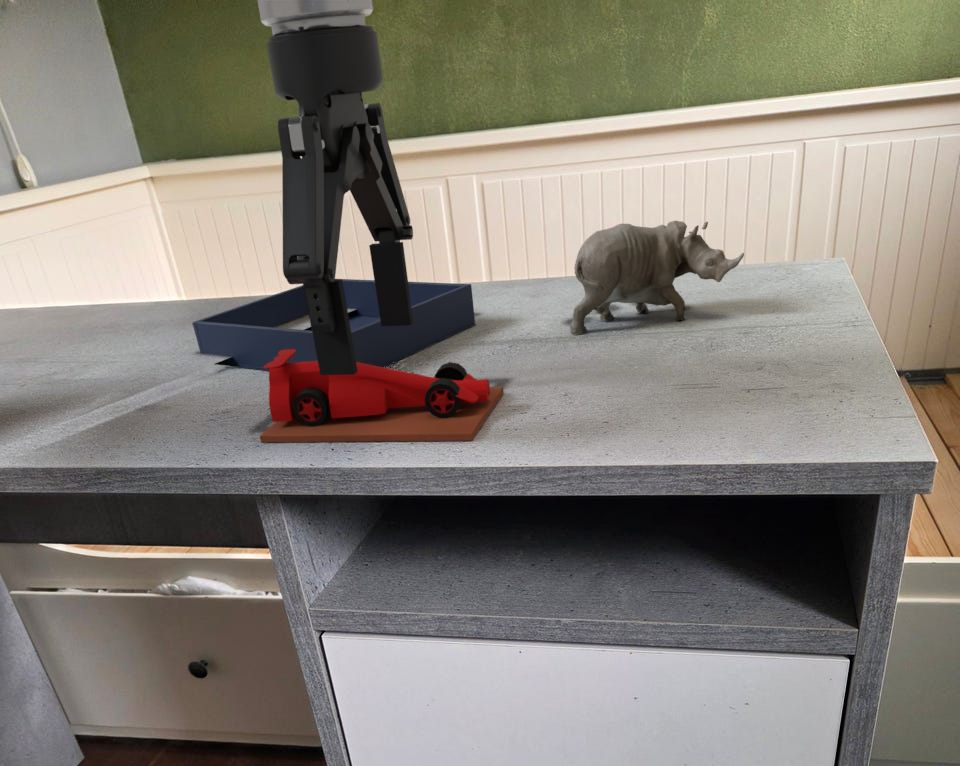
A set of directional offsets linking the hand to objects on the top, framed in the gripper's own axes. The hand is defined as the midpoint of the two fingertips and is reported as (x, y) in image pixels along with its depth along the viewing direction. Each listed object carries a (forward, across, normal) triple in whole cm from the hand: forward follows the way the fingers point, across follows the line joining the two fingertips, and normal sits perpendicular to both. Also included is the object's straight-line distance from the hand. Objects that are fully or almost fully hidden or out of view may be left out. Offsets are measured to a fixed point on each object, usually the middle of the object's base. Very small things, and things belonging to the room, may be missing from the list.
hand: (370, 347), depth 71 cm
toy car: (+5, 0, 0) cm, 5 cm away
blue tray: (+6, +24, +13) cm, 28 cm away
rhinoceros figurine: (+6, +28, -20) cm, 35 cm away
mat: (+6, 0, 0) cm, 6 cm away
